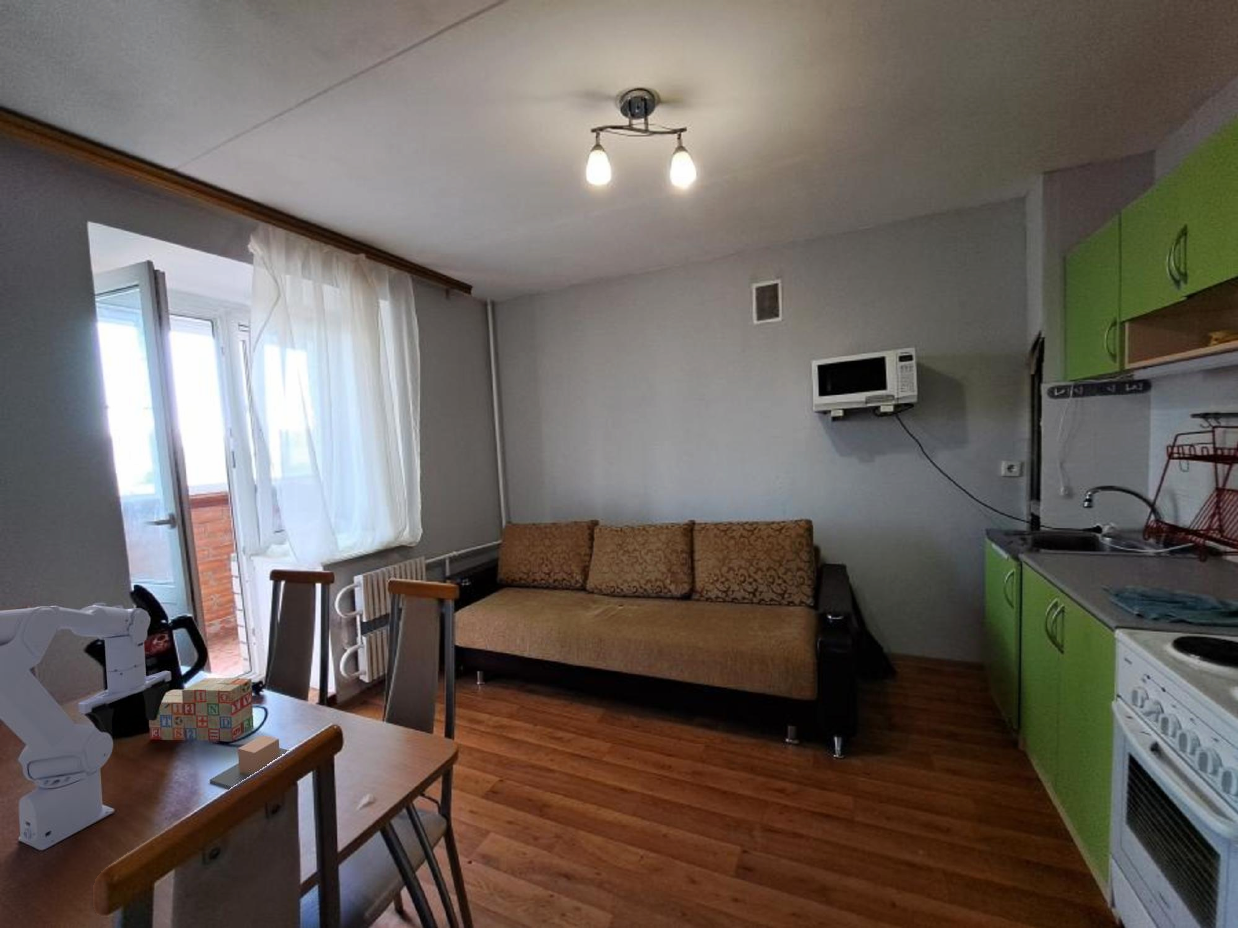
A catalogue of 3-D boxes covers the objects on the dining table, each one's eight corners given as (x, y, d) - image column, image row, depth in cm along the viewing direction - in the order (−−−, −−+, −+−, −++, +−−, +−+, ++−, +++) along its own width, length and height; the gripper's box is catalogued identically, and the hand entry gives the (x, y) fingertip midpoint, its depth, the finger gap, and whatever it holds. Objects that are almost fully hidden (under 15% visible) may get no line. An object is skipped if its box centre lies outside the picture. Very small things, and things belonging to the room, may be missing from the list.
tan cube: (255, 776, 99) (254, 752, 99) (239, 771, 100) (237, 748, 100) (280, 761, 103) (278, 738, 103) (264, 757, 105) (262, 734, 105)
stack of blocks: (148, 740, 115) (145, 689, 114) (175, 725, 121) (172, 677, 120) (232, 741, 113) (229, 689, 113) (254, 726, 119) (252, 677, 119)
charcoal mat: (249, 794, 94) (249, 791, 94) (209, 782, 98) (209, 779, 98) (307, 757, 105) (307, 754, 105) (269, 747, 110) (269, 745, 110)
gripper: (92, 683, 94) (97, 752, 94) (179, 653, 108) (182, 713, 108) (69, 680, 96) (74, 747, 96) (157, 650, 110) (160, 709, 110)
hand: (130, 729), depth 102 cm, fingers open, 7 cm apart
